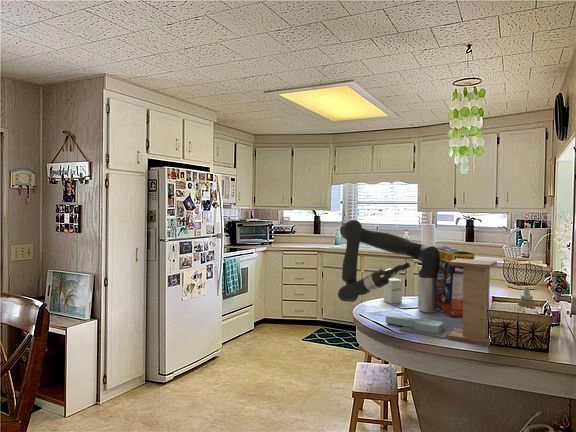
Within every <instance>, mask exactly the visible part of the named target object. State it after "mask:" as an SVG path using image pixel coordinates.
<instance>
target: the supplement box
mask: <svg viewBox="0 0 576 432" xmlns="http://www.w3.org/2000/svg"><path fill="white" fill-rule="evenodd" d="M383 302H385V303H389V304H390V305H391V304H398V303H399V304H401V303H402V302H403V279H399V278H396V277H392V278H389V283H388V284H387V285H385V286H383Z"/></svg>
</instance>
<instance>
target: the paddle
mask: <svg viewBox="0 0 576 432" xmlns="http://www.w3.org/2000/svg"><path fill="white" fill-rule="evenodd" d="M385 323H387V324H392V325H397V326H402V327H403V326H407V327H413V328H414V329H415V330H421V331H426V332H432V333H437V334H438V333H440V332H441V331H442V330H444V327H445V322H444V321H439V320H433V319H426V318H414V317H412V318H411V317H406V316H402V315H401V316H400V315H394V314H387V315H386V316H385Z"/></svg>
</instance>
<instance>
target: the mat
mask: <svg viewBox="0 0 576 432" xmlns="http://www.w3.org/2000/svg"><path fill="white" fill-rule="evenodd" d="M455 329H456V328H453V327H448V326H447V327H446V326H444V330H442V331H441V332H440V333H438V334H437V333H432V332H426V331H421V330H415V329H414V328H413V327H407V326H402V327H400V328H399V329H398V330H399V331H400V332H406V333H407V332H408V333H410V334H411V333H412V334H418V335H422V336H428V337H433V338H439V339H446V338H448V334H450V333H451V332H452V331H453V330H455Z"/></svg>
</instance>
